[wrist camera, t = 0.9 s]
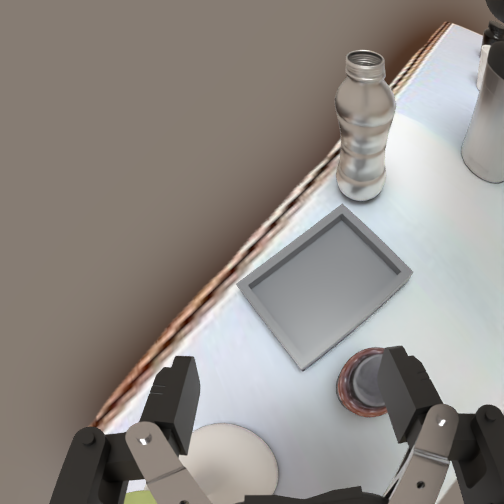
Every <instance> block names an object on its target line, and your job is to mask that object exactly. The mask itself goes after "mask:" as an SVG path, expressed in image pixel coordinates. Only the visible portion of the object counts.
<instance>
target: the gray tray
mask: <svg viewBox="0 0 504 504" xmlns="http://www.w3.org/2000/svg"><path fill="white" fill-rule="evenodd" d="M412 274H413V271H412V270H411V269H410V268H409V267H408V266H407V265H406V264H405V263H404V262H403V261H402V260H401V259H400V258H399V257H398V256H397V255H396V254H395V253H394V252H393V251H392V250H391V249H390V248H389V247H388V246H387V245H386V244H385V243H384V242H383V241H382V240H381V239H380V238H379V237H378V236H377V235H376V234H374V233H373V232H372V231H371V230H370V229H369V228H368V227H367V226H366V225H365V224H364V223H363V222H362V221H361V220H360V219H359V218H357V217H356V216H355V215H354V214H353V213H352V212H351V211H350V210H349V209H348V208H346V207H345V206H344V205H343V204H341V205H340V206H339V207H337V208H336V209H335V210H333V211H332V212H331V213H330V214H328V215H327V216H326V217H324V218H323V219H322V220H320V221H319V222H318V223H316V224H315V225H314V226H313V227H311V228H310V229H309V230H307V231H306V232H305V233H303V234H302V235H301V236H299V237H298V238H297V239H295V240H294V241H293V242H291V243H290V244H289V245H287V246H286V247H285V248H283V249H282V250H281V251H280V252H278V253H277V254H276V255H274V256H273V257H272V258H270V259H269V260H268V261H266V262H265V263H264V264H262V265H261V266H260V267H258V268H257V269H256V270H254V271H253V272H252V273H250V274H249V275H248V276H246V277H245V278H243V279H242V280H241V281H239V282H238V283H237V284H236V285H237V286H238V288H239V289H240V290H241V292H242V293H243V294H244V296H245V297H246V298H247V300H248V301H249V302H250V304H251V305H252V306H253V308H254V309H255V310H256V312H257V313H258V314H259V316H260V317H261V318H262V320H263V321H264V322H265V324H266V325H267V326H268V327H269V329H270V330H271V331H272V333H273V334H274V335H275V337H276V338H277V339H278V341H279V342H280V343H281V344H282V346H283V347H284V348H285V350H286V351H287V352H288V353H289V355H290V356H291V357H292V359H293V360H294V361H295V362H296V364H297V365H298V366H299V368H300V369H301V370H302V371H304V370H305V369H306V368H308V367H309V366H310V365H312V364H313V363H314V362H316V361H317V360H318V359H319V358H321V357H322V356H323V355H324V354H326V353H327V352H328V351H329V350H331V349H332V348H333V347H334V346H336V345H337V344H338V343H339V342H340V341H342V340H343V339H344V338H345V337H346V336H348V335H349V334H350V333H351V332H352V331H354V330H355V329H356V328H357V327H358V326H359V325H361V324H362V323H363V322H364V321H365V320H366V319H367V318H369V317H370V316H371V315H372V314H373V313H374V312H375V311H376V310H377V309H379V308H380V307H381V306H382V305H383V304H384V303H385V302H386V301H387V300H388V299H389V298H390V297H392V296H393V295H394V294H395V293H396V292H397V291H398V290H399V289H400V288H401V287H402V286H403V285H404V284H405V283H406V282H407V281H408V280H409V278H410V277H411V275H412Z"/></svg>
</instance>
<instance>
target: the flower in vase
mask: <svg viewBox="0 0 504 504" xmlns="http://www.w3.org/2000/svg"><path fill="white" fill-rule="evenodd" d="M179 460H180V461H181V463H182V464H183V466H184V467H186V469H187V470H188V471H189V473H190V474H191V475H192V477H193V478H194V480H195V481H196V482H197V484H198V485H199V487H200V488H201V489H202V491H203V492H204V493H205V495H206V496H207V497H208V499H209V500H210V501H211V503H212V504H235V503H238V502H243V501H244V496H245V495H273V493H274V491H275V489H276V486H277V482H278V466H277V462H276V459H275V456H274V455H273V453H272V451H271V449H270V448H269V447H268V445H267V444H266V443H265V442H264V441H263V440H262V439H261V438H260V437H259V436H258V435H256V434H255V433H253V432H251V431H249V430H248V429H246V428H243V427H240V426H237V425H233V424H226V423H218V424H211V425H207V426H204V427H201V428H199V429H197V430H195V431H194V432H192V435H191V440H190V445H189V450H188V455H187V456H185V455H179ZM124 504H157V502H156V501H155V499H154V497H153V496H152V494H151V492H150V490H149V488H148V486H147V484H146V485H145V488H144V490H143V491H134V492H129V493H126V495H125V500H124Z"/></svg>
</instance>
